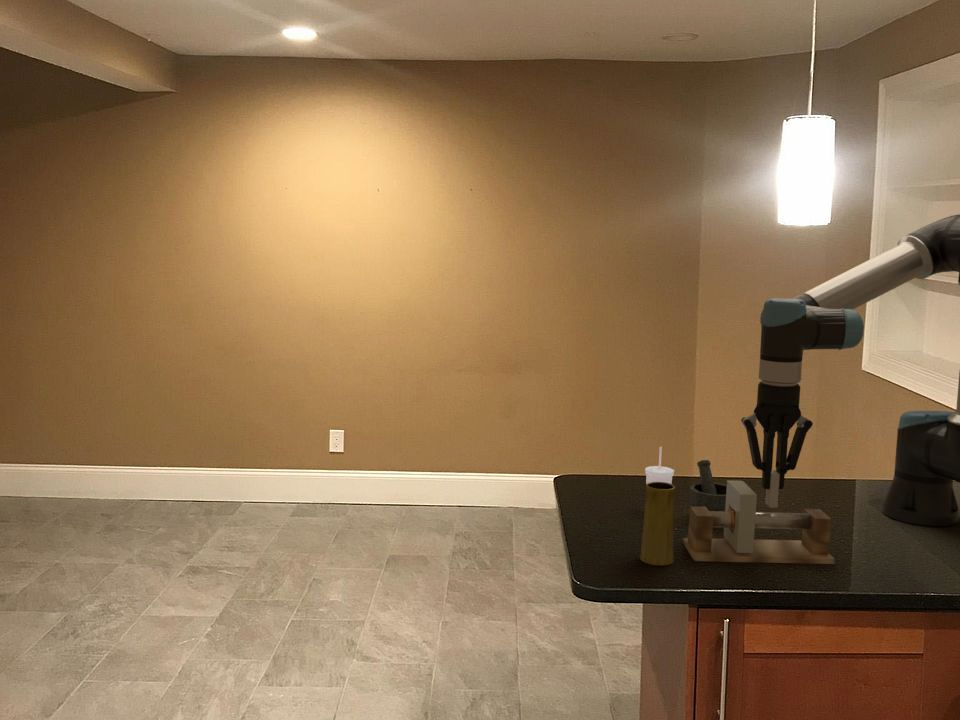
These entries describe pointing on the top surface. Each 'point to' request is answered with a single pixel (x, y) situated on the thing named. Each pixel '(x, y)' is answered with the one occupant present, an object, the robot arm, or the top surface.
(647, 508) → the vase
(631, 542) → the top surface
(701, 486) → the mortar and pestle
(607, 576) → the top surface
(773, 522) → the pipe
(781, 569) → the top surface
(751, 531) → the collar
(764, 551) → the stand
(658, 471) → the beverage cup
